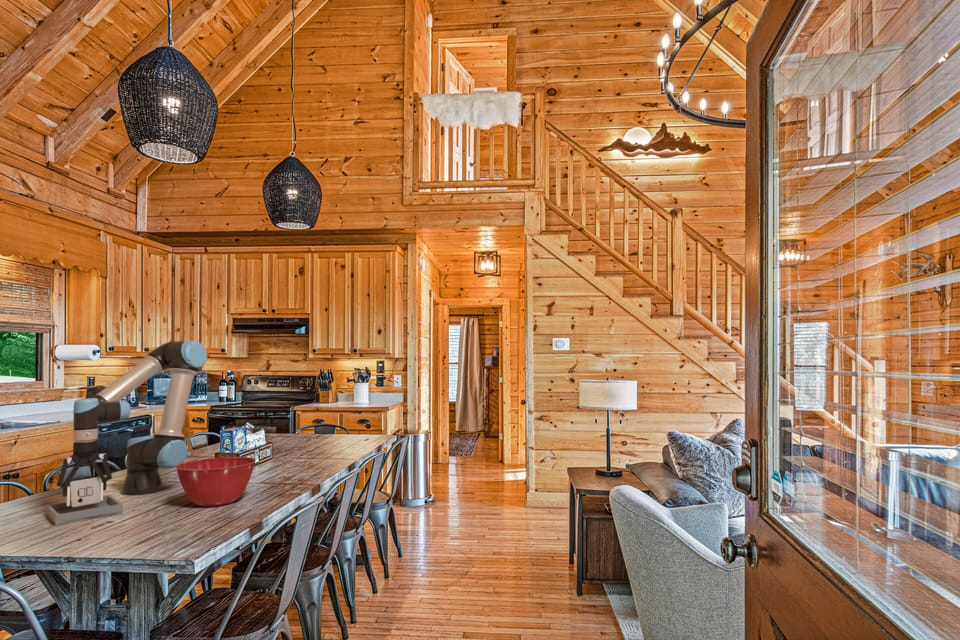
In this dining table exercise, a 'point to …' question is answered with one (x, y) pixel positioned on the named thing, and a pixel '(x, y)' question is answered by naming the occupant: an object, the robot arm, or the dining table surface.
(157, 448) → the robot arm
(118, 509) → the parts tray
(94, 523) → the dining table surface
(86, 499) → the electrical switch
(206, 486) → the mixing bowl
